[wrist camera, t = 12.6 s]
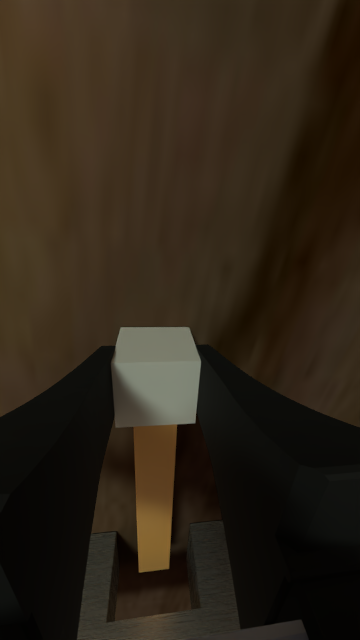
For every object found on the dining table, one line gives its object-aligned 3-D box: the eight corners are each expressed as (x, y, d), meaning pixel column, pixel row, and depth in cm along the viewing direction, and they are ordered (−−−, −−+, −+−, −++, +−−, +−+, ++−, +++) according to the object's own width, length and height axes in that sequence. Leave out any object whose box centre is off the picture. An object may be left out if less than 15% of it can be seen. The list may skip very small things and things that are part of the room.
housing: (248, 517, 18) (285, 628, 13) (239, 552, 20) (268, 661, 15) (48, 538, 16) (3, 676, 11) (58, 575, 18) (24, 707, 13)
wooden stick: (174, 531, 18) (179, 588, 15) (132, 536, 17) (128, 595, 15) (188, 327, 11) (201, 360, 9) (121, 327, 11) (111, 363, 8)
